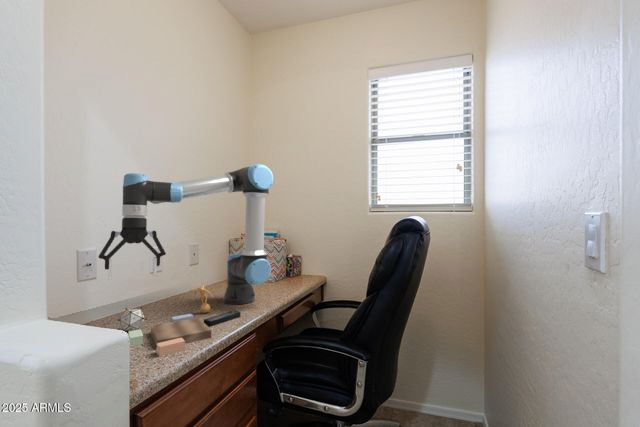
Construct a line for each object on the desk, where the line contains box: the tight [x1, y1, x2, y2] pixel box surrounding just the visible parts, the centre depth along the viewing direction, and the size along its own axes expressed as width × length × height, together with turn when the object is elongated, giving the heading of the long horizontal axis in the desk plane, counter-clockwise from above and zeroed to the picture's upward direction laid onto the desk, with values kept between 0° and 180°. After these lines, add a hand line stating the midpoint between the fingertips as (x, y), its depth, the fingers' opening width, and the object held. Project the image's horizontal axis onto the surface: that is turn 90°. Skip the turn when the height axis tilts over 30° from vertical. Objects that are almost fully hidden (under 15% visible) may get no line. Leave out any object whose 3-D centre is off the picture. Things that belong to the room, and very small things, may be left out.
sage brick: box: [127, 328, 144, 347], centre depth 98 cm, size 7×4×3 cm, turn 36°
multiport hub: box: [203, 310, 242, 328], centre depth 120 cm, size 4×14×2 cm, turn 145°
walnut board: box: [150, 317, 212, 346], centre depth 104 cm, size 16×16×2 cm
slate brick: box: [170, 313, 195, 322], centre depth 115 cm, size 7×4×3 cm, turn 131°
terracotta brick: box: [155, 338, 186, 358], centre depth 91 cm, size 7×4×3 cm, turn 131°
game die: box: [116, 306, 148, 332], centre depth 108 cm, size 9×8×10 cm
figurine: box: [194, 285, 214, 314], centre depth 128 cm, size 8×6×12 cm
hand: (133, 277), depth 108 cm, fingers open, 13 cm apart
